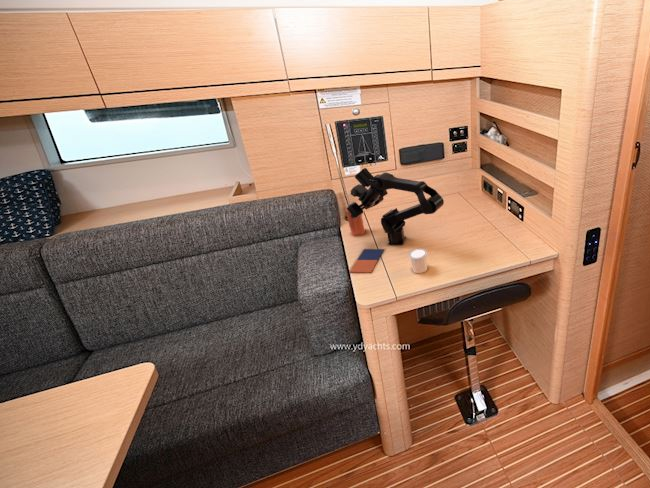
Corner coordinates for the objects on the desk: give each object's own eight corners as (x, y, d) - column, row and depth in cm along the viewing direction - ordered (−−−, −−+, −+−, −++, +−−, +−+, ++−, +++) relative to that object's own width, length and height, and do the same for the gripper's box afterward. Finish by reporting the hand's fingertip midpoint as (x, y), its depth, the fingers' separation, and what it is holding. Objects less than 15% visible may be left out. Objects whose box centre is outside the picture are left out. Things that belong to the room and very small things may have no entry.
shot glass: (421, 261, 134) (419, 246, 132) (432, 267, 130) (430, 252, 127) (407, 269, 130) (405, 254, 127) (419, 276, 125) (416, 260, 123)
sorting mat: (384, 249, 145) (383, 249, 145) (371, 272, 130) (370, 272, 130) (364, 249, 146) (364, 249, 146) (349, 272, 132) (349, 271, 131)
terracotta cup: (366, 229, 164) (361, 205, 159) (362, 235, 158) (356, 211, 153) (354, 229, 165) (349, 205, 160) (349, 236, 159) (343, 211, 154)
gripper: (374, 173, 154) (360, 192, 163) (345, 188, 139) (332, 208, 148) (390, 190, 154) (376, 209, 163) (363, 208, 139) (349, 227, 148)
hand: (358, 212), depth 156 cm, fingers open, 9 cm apart
